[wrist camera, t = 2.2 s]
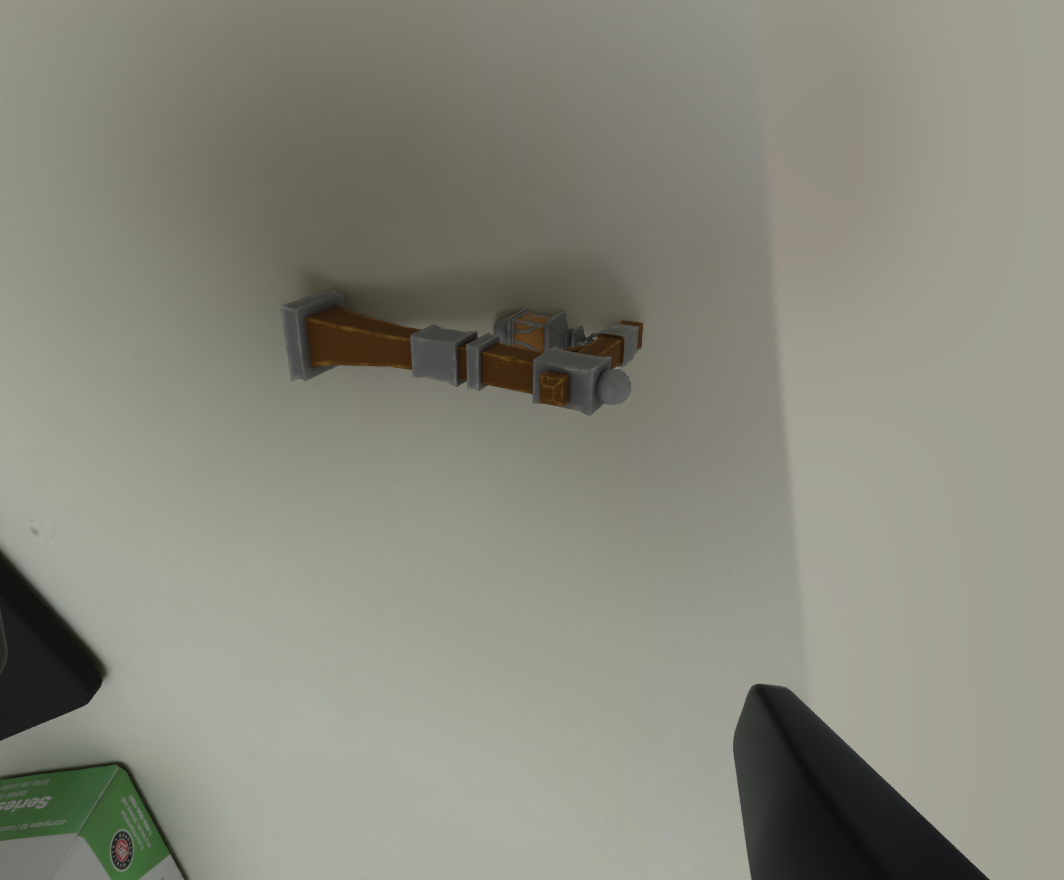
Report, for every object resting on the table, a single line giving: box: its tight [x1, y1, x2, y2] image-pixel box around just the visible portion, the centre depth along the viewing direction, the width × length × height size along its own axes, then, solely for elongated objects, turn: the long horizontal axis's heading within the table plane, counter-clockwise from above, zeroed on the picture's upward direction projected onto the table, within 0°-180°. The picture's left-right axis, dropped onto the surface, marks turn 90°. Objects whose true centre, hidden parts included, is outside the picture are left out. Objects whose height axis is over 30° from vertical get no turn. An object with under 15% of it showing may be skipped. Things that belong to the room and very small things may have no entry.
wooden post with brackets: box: [281, 289, 643, 416], centre depth 17 cm, size 2×8×4 cm, turn 90°
